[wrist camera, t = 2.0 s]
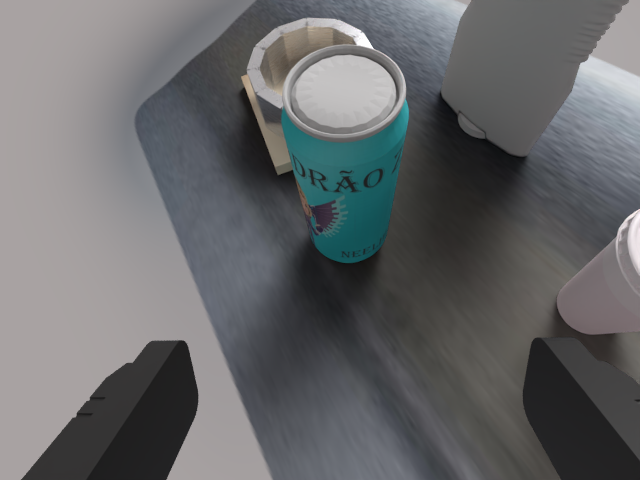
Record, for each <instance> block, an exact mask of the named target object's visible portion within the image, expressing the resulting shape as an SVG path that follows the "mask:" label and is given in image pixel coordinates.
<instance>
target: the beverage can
mask: <svg viewBox="0 0 640 480" xmlns="http://www.w3.org/2000/svg"><path fill="white" fill-rule="evenodd" d="M405 97H406V85H405V80H404V76H403V74H402V72H401V70H400V69H399V67H398V66H397V64H396V63H395V62H394V61H393V60H392V59H390V58H389V57H388V56H386V55H385V54H383V53H381V52H379V51H377V50H375V49H372V48H369V47H365V46H360V45H335V46H330V47H326V48H323V49H320V50H317V51H315V52H313V53H311V54H309V55H307V56H306V57H304V58H303V59H301V60H300V61H299V62H298V63H297V64H296V65H295V66H294V67H293V68H292V69H291V71H290V72H289V74H288V75H287V77H286V80H285V82H284V86H283V91H282V101H283V105H284V106H283V109H282V115H281V124H282V129H283V133H284V137H285V141H286V144H287V148H288V152H289V156H290V160H291V164H292V167H293V171H294V175H295V179H296V183H297V187H298V190H299V194H300V198H301V202H302V206H303V210H304V213H305V217H306V221H307V225H308V229H309V232H310V236H311V239H312V241H313V243H314V245H315V247H316V248H317V249H318V250H319V251H320V252H321V253H322V254H323V255H325V256H326V257H328V258H330V259H332V260H335V261H338V262H342V263H355V262H359V261H362V260H364V259H367V258H368V257H370V256H372V255H373V254H374V253H376V252H377V251H378V250H379V248H380V247H381V246H382V244H383V243H384V241H385V238H386V235H387V231H388V225H389V220H390V215H391V210H392V204H393V199H394V194H395V188H396V183H397V178H398V173H399V167H400V162H401V157H402V152H403V146H404V141H405V136H406V130H407V125H408V120H409V109H408V104H407V101H406V99H405Z"/></svg>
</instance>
